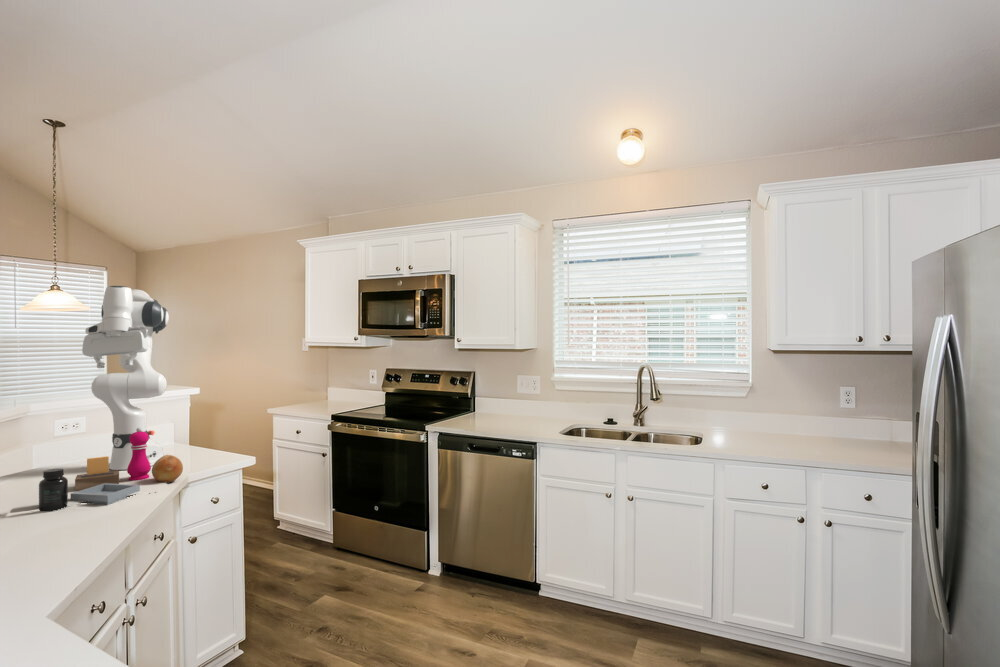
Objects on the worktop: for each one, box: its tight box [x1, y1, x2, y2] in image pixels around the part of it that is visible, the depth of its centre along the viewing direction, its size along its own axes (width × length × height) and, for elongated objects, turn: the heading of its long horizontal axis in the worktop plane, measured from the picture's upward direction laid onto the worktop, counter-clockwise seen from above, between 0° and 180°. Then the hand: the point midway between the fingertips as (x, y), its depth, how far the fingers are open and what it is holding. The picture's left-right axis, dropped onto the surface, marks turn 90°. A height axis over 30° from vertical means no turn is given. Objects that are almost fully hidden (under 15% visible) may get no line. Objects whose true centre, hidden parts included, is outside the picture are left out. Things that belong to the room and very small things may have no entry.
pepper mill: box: [126, 427, 152, 482], centre depth 193 cm, size 7×7×20 cm
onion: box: [151, 454, 184, 484], centre depth 191 cm, size 10×10×10 cm
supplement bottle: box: [38, 467, 69, 512], centre depth 162 cm, size 7×7×12 cm
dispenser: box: [74, 470, 120, 492], centre depth 183 cm, size 8×12×6 cm, turn 125°
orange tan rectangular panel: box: [86, 455, 110, 475], centre depth 183 cm, size 1×6×10 cm, turn 125°
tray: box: [70, 483, 141, 506], centre depth 172 cm, size 12×14×3 cm
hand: (114, 366), depth 182 cm, fingers open, 8 cm apart
